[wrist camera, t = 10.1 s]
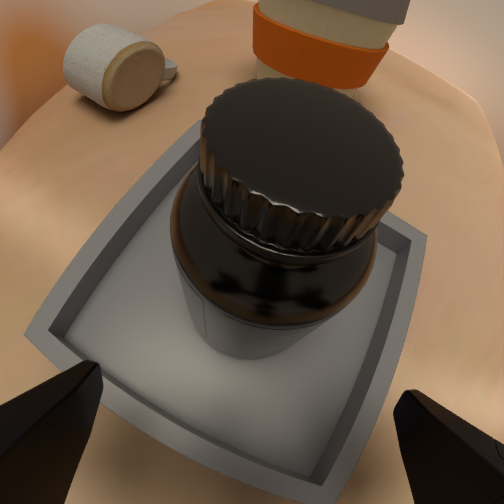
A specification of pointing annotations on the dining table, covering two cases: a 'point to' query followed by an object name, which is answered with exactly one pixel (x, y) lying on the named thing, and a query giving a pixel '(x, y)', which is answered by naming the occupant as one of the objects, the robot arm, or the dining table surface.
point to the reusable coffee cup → (324, 39)
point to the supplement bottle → (280, 212)
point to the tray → (223, 365)
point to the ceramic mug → (115, 67)
